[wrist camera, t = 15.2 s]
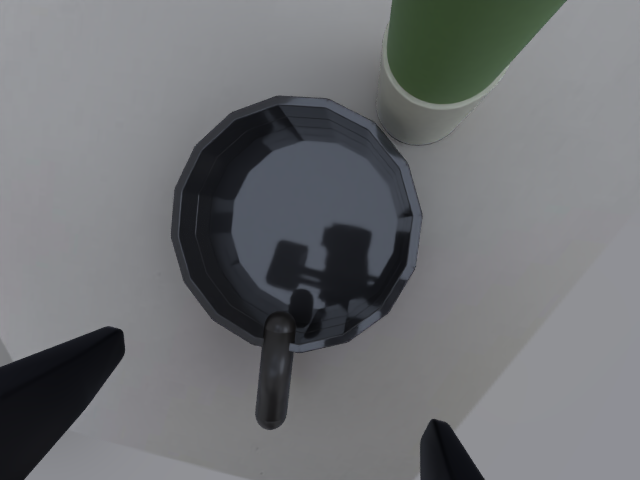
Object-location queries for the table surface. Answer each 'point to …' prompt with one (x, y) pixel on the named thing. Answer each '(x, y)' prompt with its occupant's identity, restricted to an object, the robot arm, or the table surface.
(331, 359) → the table surface
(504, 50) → the leek
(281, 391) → the pan handle
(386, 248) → the pan
